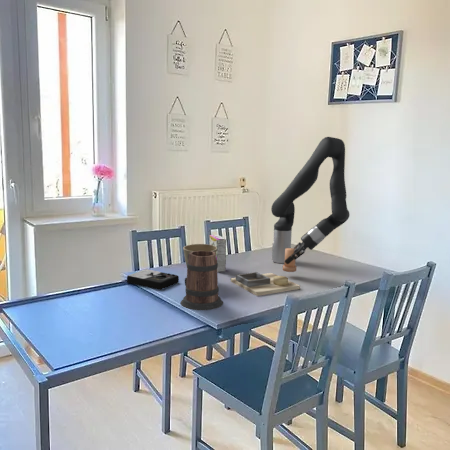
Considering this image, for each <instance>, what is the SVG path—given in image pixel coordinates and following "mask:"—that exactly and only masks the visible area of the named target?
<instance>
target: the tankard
mask: <svg viewBox="0 0 450 450" xmlns="http://www.w3.org/2000/svg"><path fill="white" fill-rule="evenodd" d="M217 268H218V263H217V260H216V253H215V252H213V251H193V252H191V253H189V254H188V262H187V266H186V277H185V278H184V286H185V295H184V297H182V299H181V300H180V306H181V307H182V308H185V309H187V310H191V311H212V310H217V309H219V308H221V307H222V306H223V305H224V301H223V300H222V298H221V297H220V296H219V291H220V290H219V285H218V283H219V281H218V279H219V278H218V272H217Z"/></svg>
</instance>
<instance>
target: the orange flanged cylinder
mask: <svg viewBox="0 0 450 450" xmlns="http://www.w3.org/2000/svg"><path fill="white" fill-rule="evenodd" d="M293 248H294V247H291V248H286V249H285V260H286V259H287V258H288V257H289V256H291V254H293V251H294V250H295V249H293ZM295 256H296V254H295ZM282 271H284V272H288V273H294V272H296V271H297V265H296V260H295V259H294V260H293V261H291V262H290V263H289V264H286V263H283V265H282Z"/></svg>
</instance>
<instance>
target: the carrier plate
mask: <svg viewBox="0 0 450 450" xmlns="http://www.w3.org/2000/svg"><path fill="white" fill-rule="evenodd" d="M230 282H231V283H233V284H234V285H236V286H238V287H240V288H241V289H244V290H245V291H247V292H249V293H251V294H253V295H254V296H256V297H259V296H265V295H271V294H276V293H283V292H290V291H294V290H295V291H296V290H301V285H299V284H297V283H296V282H293V281H290V280H289V277H287V276H284V275H277V274H275V273H273V272H268V273H260V272H257V271H255V272H248V273H240V274H239V273H238V274H235V277H231V278H230Z"/></svg>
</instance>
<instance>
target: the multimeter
mask: <svg viewBox="0 0 450 450" xmlns="http://www.w3.org/2000/svg"><path fill="white" fill-rule="evenodd" d="M179 277H180V276H179V275H177V274H172V273H170V272H169V273H167V272H162V271H156V270H152V269H148V268H146V269H143V270H139V271H137V272H133V273H132V274H128V275H127V276H126V283H127V284H131V285H136V286H141V287H145V288H148V289H153V290H159V291H162V290H165V289H166V288H169V287H172V286H174V285H176V284H179V282H180V281H179V279H180V278H179Z"/></svg>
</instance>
